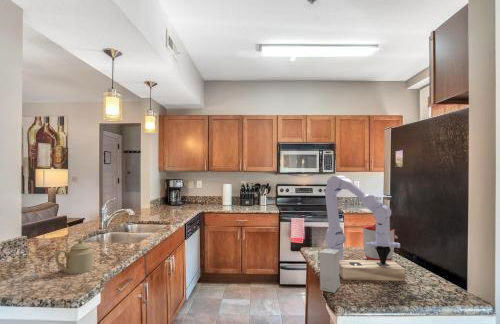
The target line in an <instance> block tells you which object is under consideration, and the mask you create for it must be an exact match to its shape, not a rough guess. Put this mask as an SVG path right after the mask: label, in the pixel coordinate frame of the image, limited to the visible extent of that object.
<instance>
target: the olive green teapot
mask: <svg viewBox="0 0 500 324" xmlns="http://www.w3.org/2000/svg"><path fill="white" fill-rule="evenodd" d="M83 241H84V240H83V238H82V237H79V238H78V240H77V242H78V243H76V244H73V245H72V246H71V247H69V251H68V252H67V250H65V249H60V250H58V251H57V252H56V253H55V256H54V259H55V260H54V261H55V262H56V265H58V267H60V268H62V269H64V270H65V272H66V274H69V275H79V274H80V275H81V274H85V272H86V273H89V272H91V271H93V269H94V250H93V249H91V245H89V244H88V243H84V242H83ZM61 253H64V255H65V265H63V264H61V263H60V260H59V257H60V254H61ZM90 270H91V271H90ZM88 271H89V272H88Z"/></svg>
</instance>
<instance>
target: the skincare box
mask: <svg viewBox="0 0 500 324" xmlns="http://www.w3.org/2000/svg"><path fill="white" fill-rule="evenodd" d="M340 277H341V276H340V268H339V250H334V249H327V248H325V249H322V251H320V252H319V280H320V281H319V283H320V284H319V286H320V287H319V288H320V291H324V292H328V293H333V294H334V293H336V292H337V290H338V289H340V287H341V278H340Z"/></svg>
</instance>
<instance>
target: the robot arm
mask: <svg viewBox="0 0 500 324" xmlns="http://www.w3.org/2000/svg"><path fill="white" fill-rule="evenodd" d="M341 190H348V191H349V192H350V193H352V194H353V195H354V196H356V197H357V198H358V199H360V200H361V204H362V205H363V207H366V209H368V210H369V211H370V212H371V213H373V214H372V215H373V217H374V218H375V224H376V242H366V247H367V248H369V247H375V249H376V251H377V253H378V255H379V258H380V263H381V264H385V263H386V259H387V256H388V254H389V253H390V251H391V249H390V247H394V248H397V249H400V248H401V243H399V242H395V241H394V242H390V230H391V227H390V217H391V216H392V210H391V208H390V206H389V205H386V204H384V203H383V202H381V201H379V200H378V199H377V198H376V197H375V195H373V194H371V193H370V194H366V192H365V191H363V190H362V189H360V187H358V186H357V185H356V184H355V183H354V181H352V180H351V179H350V178H348V177H347V176H346V175H331V176H330V177H329V178H328V179H327V180H326V187H325V191H324V194H325V205H326V206H325V207H326V212H327V213H326V214H327V224H328V227H327V230H326V232H325V244H326V245H327V248H326V249H334V250H339V260H344V243H345V242H346V238H347V237H346V234H345V233H344V230H343V227H341V224H340V223H341V221H340V216H339V215H340V214H339V206H338V196H337V194H339V193H340V192H341Z"/></svg>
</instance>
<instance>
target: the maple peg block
mask: <svg viewBox="0 0 500 324" xmlns="http://www.w3.org/2000/svg"><path fill="white" fill-rule="evenodd" d="M379 262H380V261H379V260H367V259H365V260H363V259H362V260H361V259H360V260H359V259H353V260H352V259H343V260H339V268H340V277H341V278H342V280H343V281H395V282H396V281H399V282H403V281H404V282H405V281H406V268H405V267H403V266H401V265H400V264H398V263H397V262H396V261H394V260H391V261H386V263H387V264H388V266H379V265H378V263H379ZM351 263H358V264H360V266H352V265H351Z"/></svg>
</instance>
